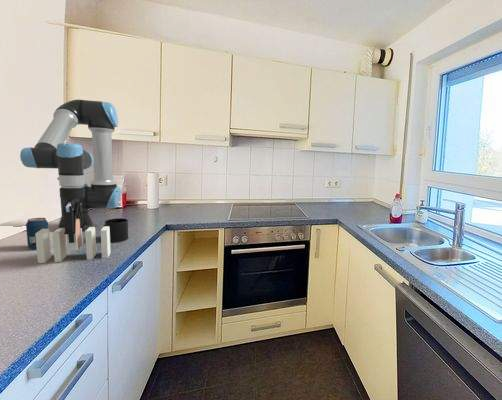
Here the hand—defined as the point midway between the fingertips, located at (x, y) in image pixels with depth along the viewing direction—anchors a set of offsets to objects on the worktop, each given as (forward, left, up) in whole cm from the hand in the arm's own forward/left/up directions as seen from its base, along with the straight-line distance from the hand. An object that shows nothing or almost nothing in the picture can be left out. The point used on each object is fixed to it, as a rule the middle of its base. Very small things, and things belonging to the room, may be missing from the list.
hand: (75, 247), depth 97 cm
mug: (-21, +10, -4) cm, 24 cm away
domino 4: (0, +5, -4) cm, 6 cm away
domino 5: (0, +10, -4) cm, 11 cm away
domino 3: (0, 0, 0) cm, 0 cm away
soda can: (-15, -17, -4) cm, 23 cm away
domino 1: (0, -10, -4) cm, 11 cm away
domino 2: (0, -5, -4) cm, 6 cm away
